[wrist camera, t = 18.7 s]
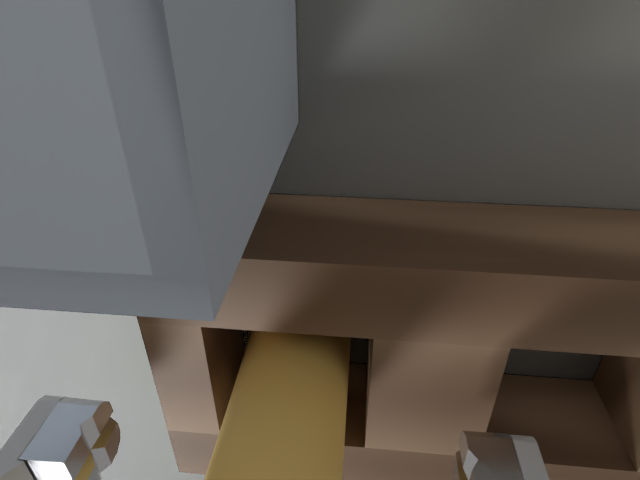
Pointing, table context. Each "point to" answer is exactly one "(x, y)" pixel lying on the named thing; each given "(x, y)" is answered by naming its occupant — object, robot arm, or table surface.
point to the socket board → (429, 330)
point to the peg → (285, 410)
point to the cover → (138, 148)
